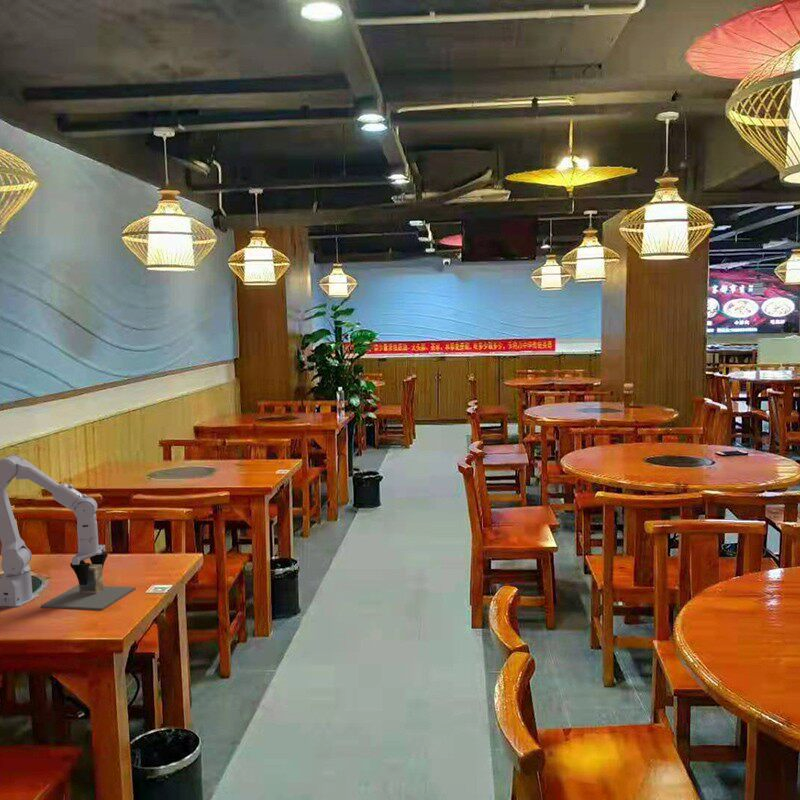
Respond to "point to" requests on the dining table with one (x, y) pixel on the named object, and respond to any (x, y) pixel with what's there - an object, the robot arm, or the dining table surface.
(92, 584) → the light wood block
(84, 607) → the mat
